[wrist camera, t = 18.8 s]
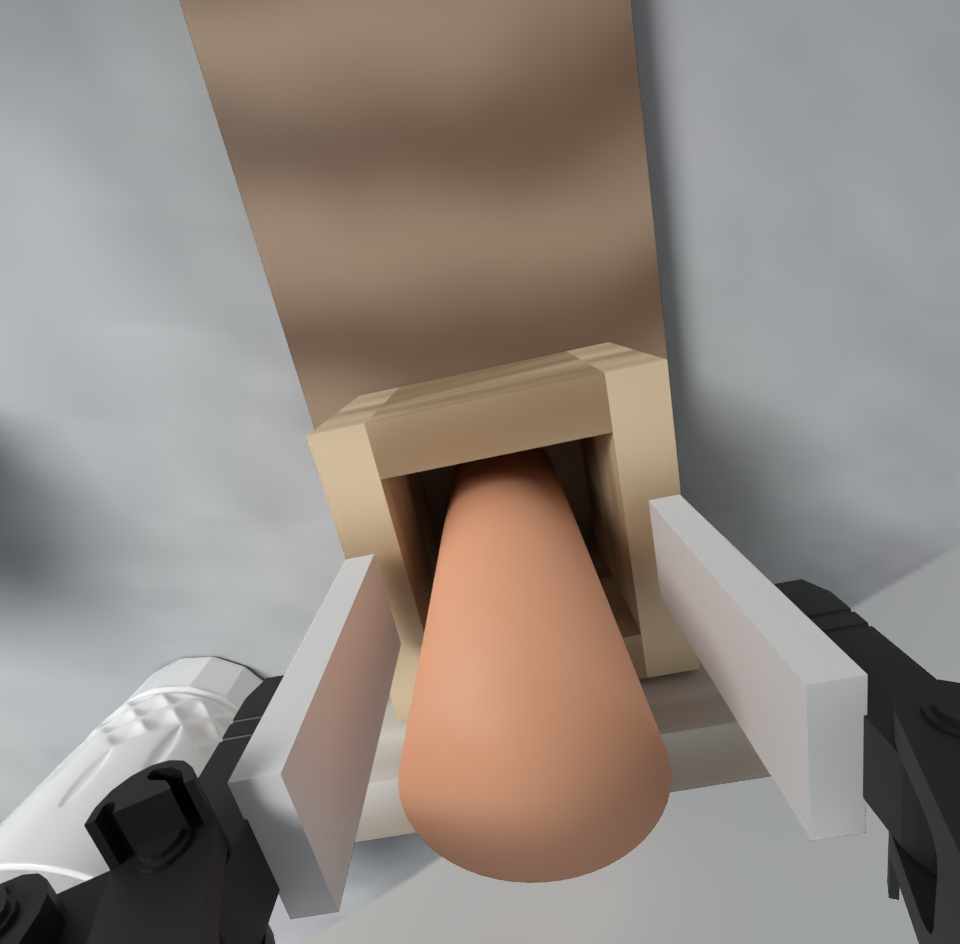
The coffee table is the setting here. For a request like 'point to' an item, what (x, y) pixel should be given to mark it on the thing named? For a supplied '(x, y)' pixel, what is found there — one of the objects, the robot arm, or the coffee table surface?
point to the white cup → (121, 765)
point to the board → (452, 232)
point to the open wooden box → (502, 430)
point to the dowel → (526, 692)
